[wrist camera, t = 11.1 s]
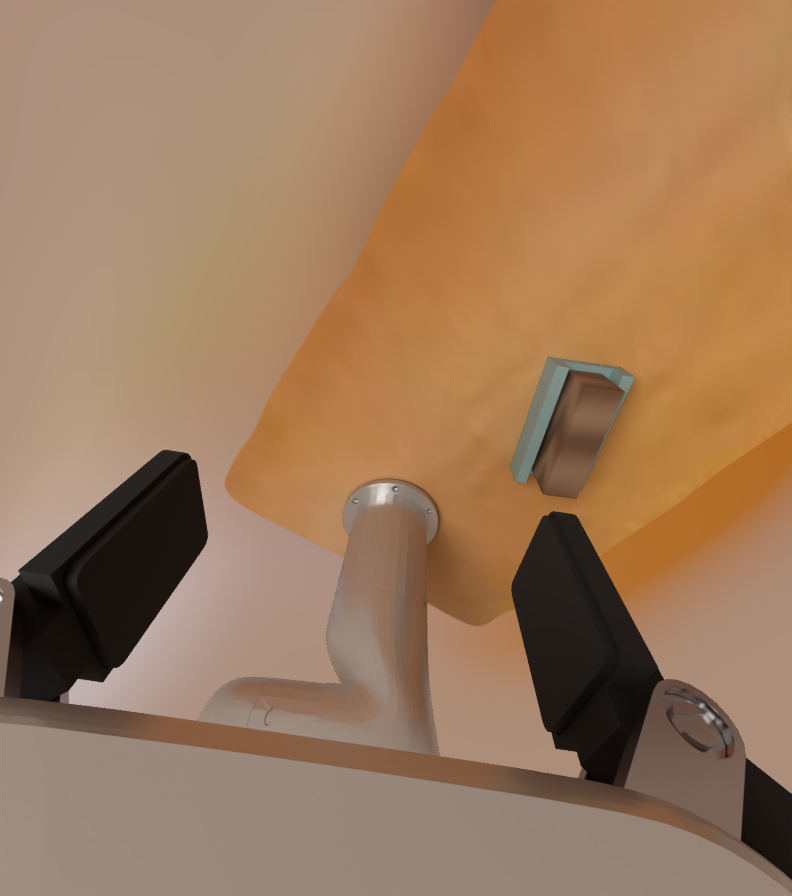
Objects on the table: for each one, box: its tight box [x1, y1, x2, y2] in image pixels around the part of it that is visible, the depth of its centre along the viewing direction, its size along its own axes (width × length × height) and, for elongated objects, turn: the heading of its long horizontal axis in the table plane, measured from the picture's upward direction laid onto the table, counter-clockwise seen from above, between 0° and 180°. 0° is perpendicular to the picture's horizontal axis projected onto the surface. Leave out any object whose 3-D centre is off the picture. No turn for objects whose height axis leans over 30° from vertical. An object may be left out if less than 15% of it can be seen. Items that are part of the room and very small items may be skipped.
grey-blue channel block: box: [510, 357, 635, 491], centre depth 40 cm, size 14×8×3 cm, turn 173°
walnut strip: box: [532, 369, 625, 499], centre depth 38 cm, size 12×4×5 cm, turn 173°
